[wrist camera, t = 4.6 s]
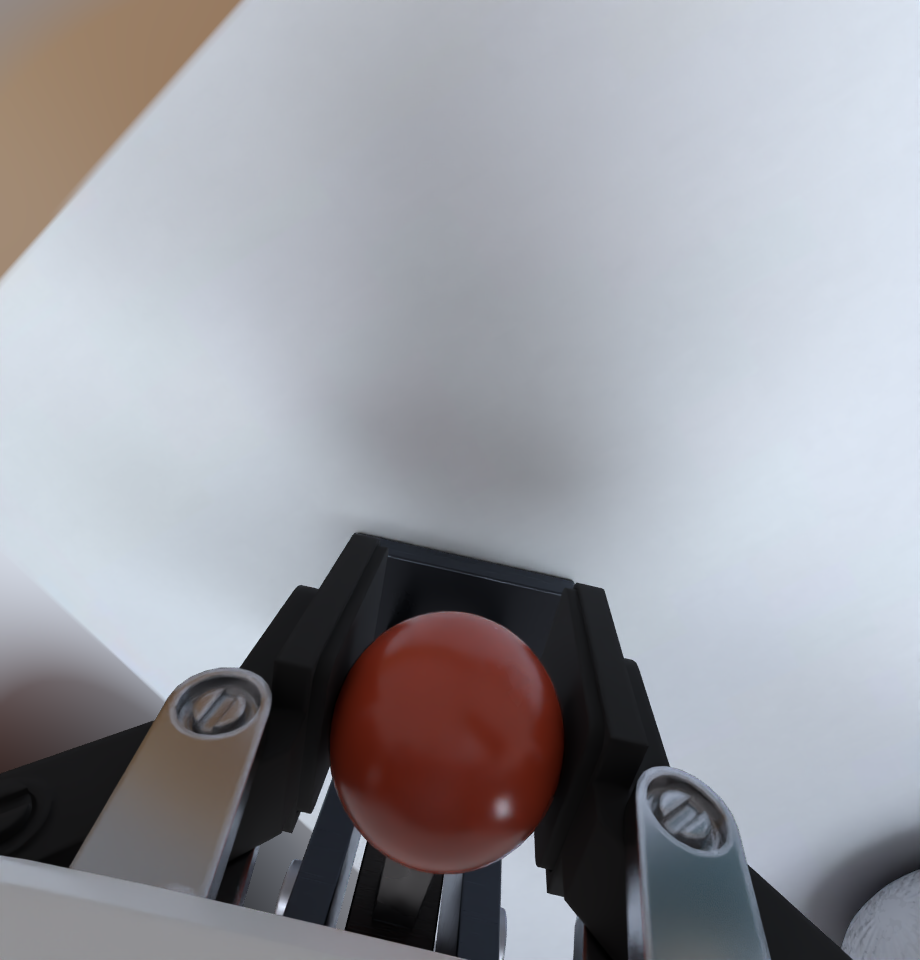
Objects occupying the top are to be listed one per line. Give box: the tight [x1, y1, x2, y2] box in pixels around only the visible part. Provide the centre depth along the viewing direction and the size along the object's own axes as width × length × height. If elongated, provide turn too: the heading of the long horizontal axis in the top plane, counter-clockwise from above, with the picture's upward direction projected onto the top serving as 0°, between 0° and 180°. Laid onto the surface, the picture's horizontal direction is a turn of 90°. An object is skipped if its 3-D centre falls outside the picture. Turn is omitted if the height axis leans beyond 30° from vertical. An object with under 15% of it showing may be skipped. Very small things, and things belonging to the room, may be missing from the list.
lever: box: [328, 611, 566, 951], centre depth 11 cm, size 13×4×4 cm, turn 169°
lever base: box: [274, 533, 574, 960], centre depth 18 cm, size 11×9×12 cm
